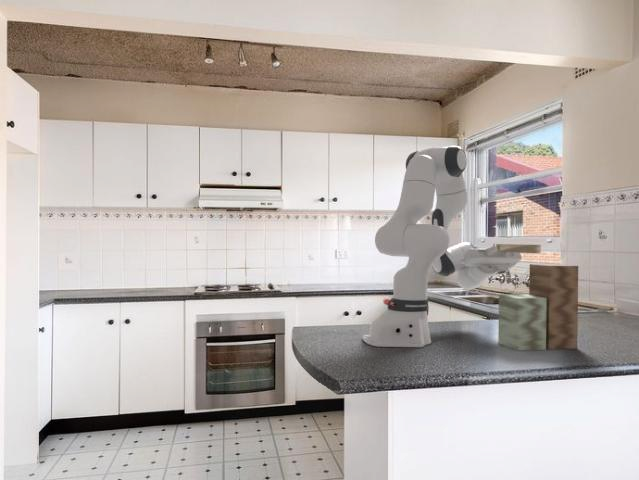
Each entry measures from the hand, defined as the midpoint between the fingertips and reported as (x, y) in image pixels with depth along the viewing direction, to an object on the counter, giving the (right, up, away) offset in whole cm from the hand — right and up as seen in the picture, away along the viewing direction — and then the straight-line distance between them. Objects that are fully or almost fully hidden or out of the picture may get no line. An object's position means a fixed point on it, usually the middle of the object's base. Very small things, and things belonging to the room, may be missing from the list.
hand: (502, 246), depth 156 cm
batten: (+1, -2, -7) cm, 7 cm away
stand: (+7, -32, -10) cm, 34 cm away
